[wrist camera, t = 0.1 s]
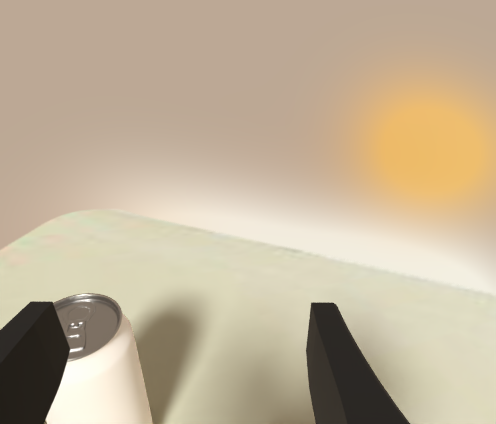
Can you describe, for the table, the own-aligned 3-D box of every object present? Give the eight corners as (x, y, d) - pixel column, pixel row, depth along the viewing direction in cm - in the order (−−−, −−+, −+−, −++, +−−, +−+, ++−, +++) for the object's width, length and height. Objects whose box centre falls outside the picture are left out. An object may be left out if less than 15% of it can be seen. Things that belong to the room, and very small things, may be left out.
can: (154, 396, 35) (131, 282, 29) (155, 476, 29) (126, 356, 23) (71, 411, 34) (29, 296, 28) (56, 497, 28) (0, 377, 22)
